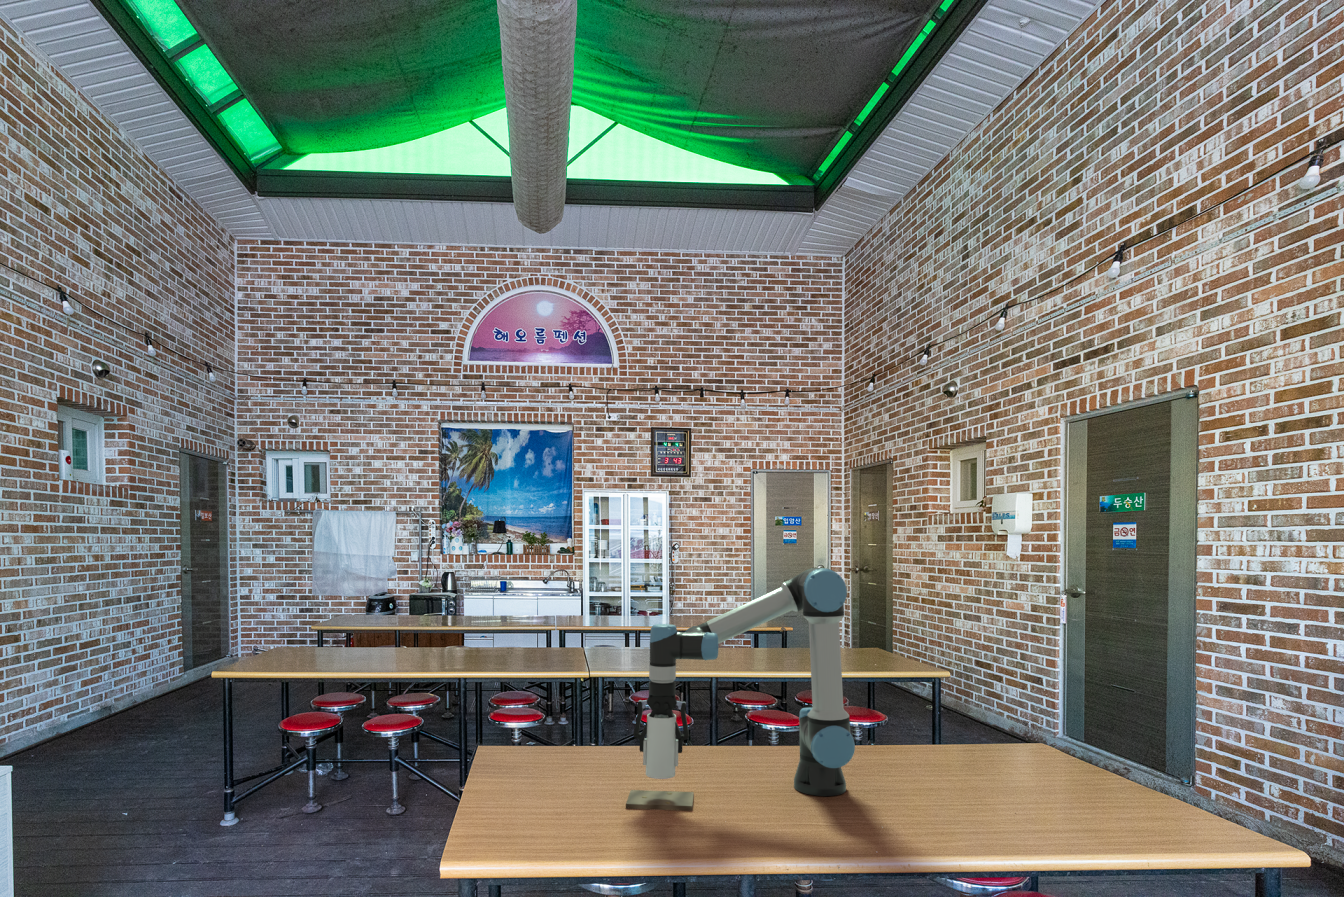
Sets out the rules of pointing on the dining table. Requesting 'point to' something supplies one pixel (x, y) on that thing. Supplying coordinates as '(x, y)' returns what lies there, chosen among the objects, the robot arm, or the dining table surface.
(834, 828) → the dining table surface
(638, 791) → the board
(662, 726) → the cup
